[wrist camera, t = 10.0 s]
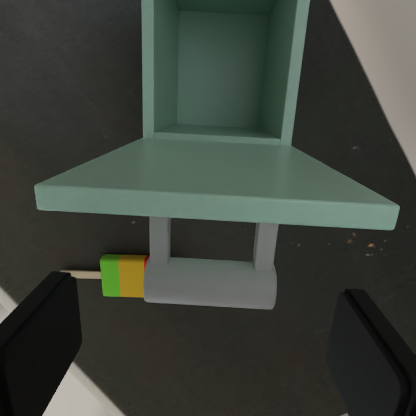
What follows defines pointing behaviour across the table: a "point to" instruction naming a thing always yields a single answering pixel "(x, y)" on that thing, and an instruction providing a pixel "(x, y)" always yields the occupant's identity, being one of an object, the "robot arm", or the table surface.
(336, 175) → the lid
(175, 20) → the pale green hollow box
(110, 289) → the popsicle
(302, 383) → the table surface
